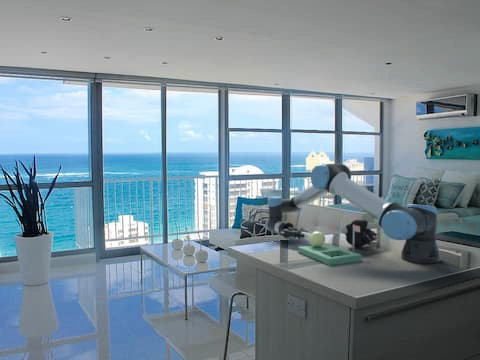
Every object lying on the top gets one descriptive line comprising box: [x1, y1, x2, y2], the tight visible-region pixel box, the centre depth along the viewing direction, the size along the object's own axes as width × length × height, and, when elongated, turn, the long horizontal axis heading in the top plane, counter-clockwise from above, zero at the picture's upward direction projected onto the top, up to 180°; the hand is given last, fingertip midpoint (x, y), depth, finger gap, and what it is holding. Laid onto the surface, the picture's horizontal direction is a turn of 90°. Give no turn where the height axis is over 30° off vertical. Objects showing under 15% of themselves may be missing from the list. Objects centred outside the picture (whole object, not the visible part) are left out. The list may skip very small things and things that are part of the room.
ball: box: [309, 230, 326, 247], centre depth 188 cm, size 7×7×7 cm
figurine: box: [340, 219, 382, 249], centre depth 199 cm, size 14×13×30 cm
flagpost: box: [352, 225, 360, 253], centre depth 178 cm, size 4×1×14 cm, turn 23°
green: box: [297, 243, 363, 266], centre depth 181 cm, size 24×16×2 cm, turn 23°
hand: (309, 237), depth 193 cm, fingers closed
